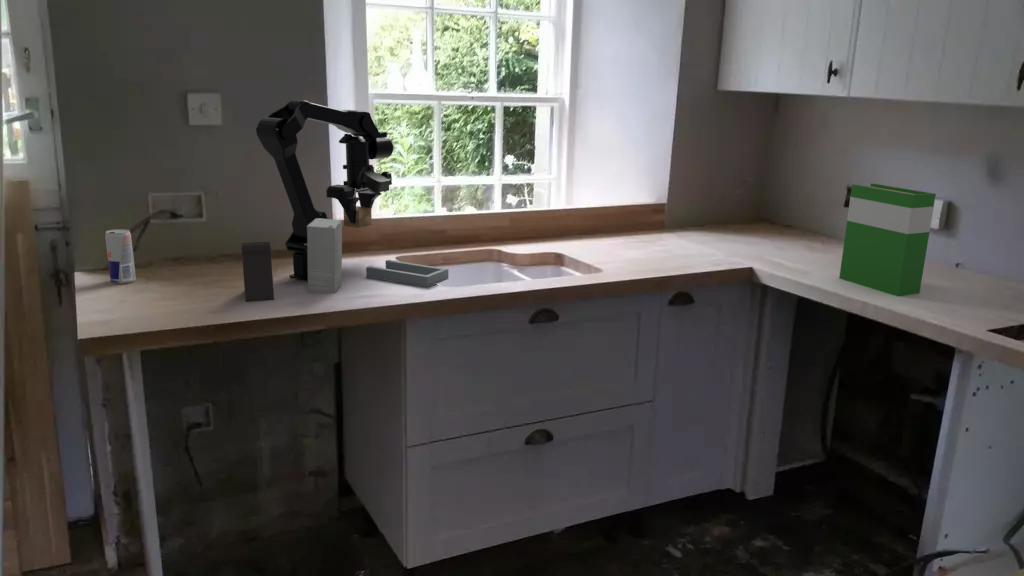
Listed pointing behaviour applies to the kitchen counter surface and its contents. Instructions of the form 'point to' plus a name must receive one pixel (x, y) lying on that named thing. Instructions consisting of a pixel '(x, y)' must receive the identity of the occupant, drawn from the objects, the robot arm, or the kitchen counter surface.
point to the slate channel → (408, 273)
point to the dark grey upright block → (257, 271)
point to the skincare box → (324, 255)
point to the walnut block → (359, 218)
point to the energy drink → (120, 256)
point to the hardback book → (887, 238)
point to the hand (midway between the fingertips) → (359, 221)
